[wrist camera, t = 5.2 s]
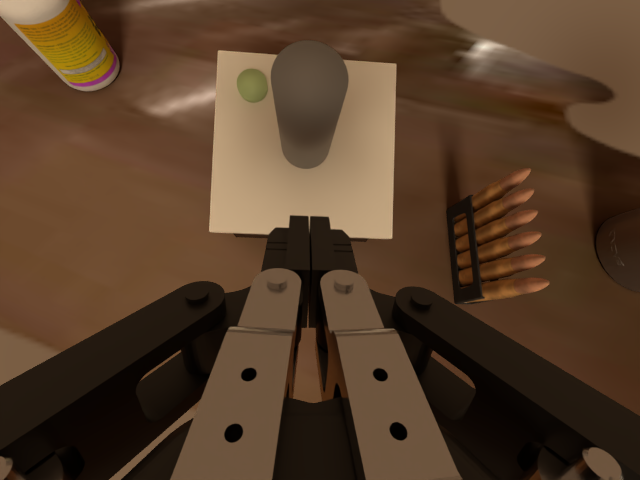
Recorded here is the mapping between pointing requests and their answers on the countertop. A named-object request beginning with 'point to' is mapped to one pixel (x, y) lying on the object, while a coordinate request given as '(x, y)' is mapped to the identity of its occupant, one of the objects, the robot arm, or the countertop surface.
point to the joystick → (303, 141)
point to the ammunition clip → (492, 243)
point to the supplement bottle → (64, 40)
